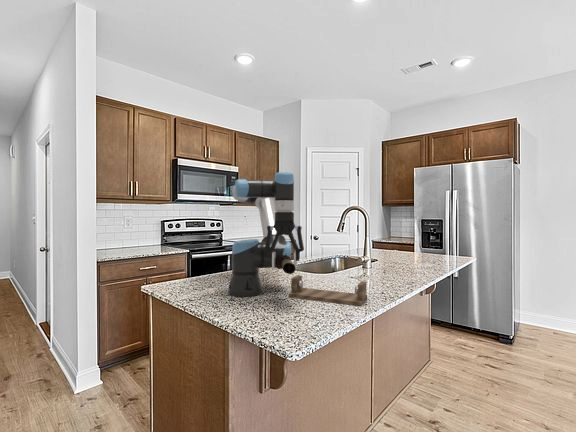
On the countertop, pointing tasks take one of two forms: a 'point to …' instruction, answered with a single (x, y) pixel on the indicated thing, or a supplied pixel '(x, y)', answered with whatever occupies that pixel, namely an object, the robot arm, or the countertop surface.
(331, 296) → the shaft stand
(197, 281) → the countertop surface
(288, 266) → the lumpy brown club
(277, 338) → the countertop surface
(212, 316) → the countertop surface
